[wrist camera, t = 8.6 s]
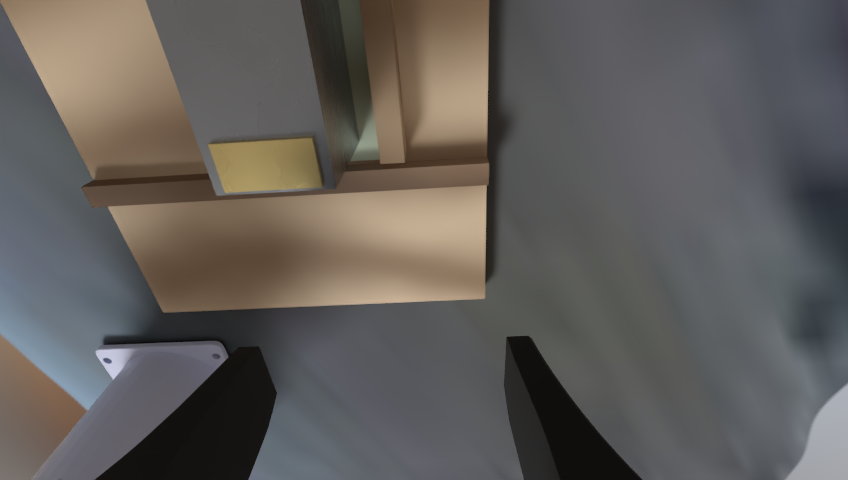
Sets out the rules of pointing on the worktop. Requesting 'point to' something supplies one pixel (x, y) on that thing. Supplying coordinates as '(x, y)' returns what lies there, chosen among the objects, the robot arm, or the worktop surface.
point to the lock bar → (263, 90)
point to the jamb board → (284, 211)
